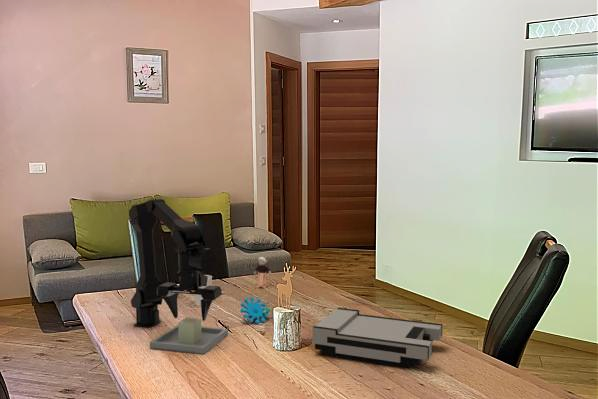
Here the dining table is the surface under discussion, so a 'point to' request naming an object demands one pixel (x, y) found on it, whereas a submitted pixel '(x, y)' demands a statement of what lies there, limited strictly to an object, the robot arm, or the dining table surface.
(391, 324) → the game console
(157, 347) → the tray
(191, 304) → the dining table surface
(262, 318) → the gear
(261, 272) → the grandmother figurine
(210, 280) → the drinking glass
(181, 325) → the sage block
